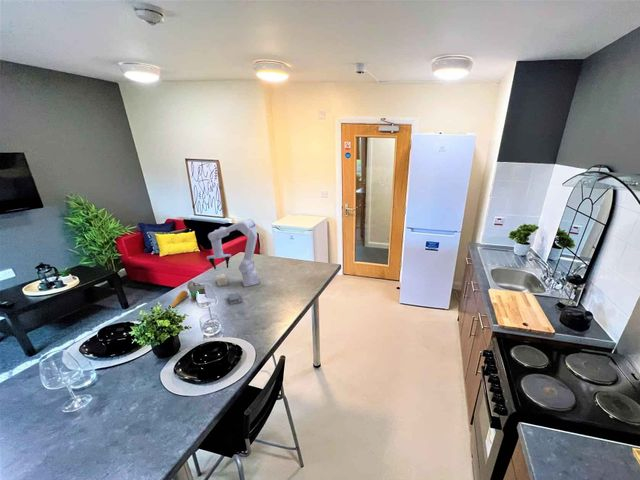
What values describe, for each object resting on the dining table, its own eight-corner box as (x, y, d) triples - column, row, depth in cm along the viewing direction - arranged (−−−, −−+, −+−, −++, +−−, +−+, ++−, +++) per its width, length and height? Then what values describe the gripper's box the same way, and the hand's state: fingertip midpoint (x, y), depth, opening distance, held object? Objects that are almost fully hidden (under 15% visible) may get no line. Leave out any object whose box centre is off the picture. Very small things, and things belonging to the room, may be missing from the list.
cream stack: (226, 279, 201) (225, 276, 200) (227, 284, 194) (227, 280, 193) (217, 281, 199) (216, 277, 197) (218, 286, 192) (217, 282, 191)
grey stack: (238, 295, 180) (238, 292, 179) (241, 302, 174) (240, 298, 173) (228, 298, 178) (228, 294, 177) (230, 304, 171) (230, 300, 170)
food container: (185, 298, 176) (181, 284, 172) (195, 294, 181) (191, 280, 177) (198, 303, 171) (194, 288, 166) (207, 299, 176) (204, 284, 171)
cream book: (224, 276, 200) (224, 273, 199) (226, 280, 193) (225, 277, 192) (217, 277, 197) (216, 274, 196) (218, 282, 191) (217, 279, 190)
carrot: (184, 296, 180) (179, 290, 178) (190, 293, 179) (185, 288, 177) (166, 316, 163) (161, 310, 160) (173, 313, 162) (167, 307, 160)
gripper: (204, 252, 185) (208, 271, 190) (229, 250, 189) (232, 269, 195) (206, 248, 191) (210, 267, 196) (230, 246, 195) (233, 265, 201)
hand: (221, 268), depth 196 cm, fingers open, 7 cm apart
